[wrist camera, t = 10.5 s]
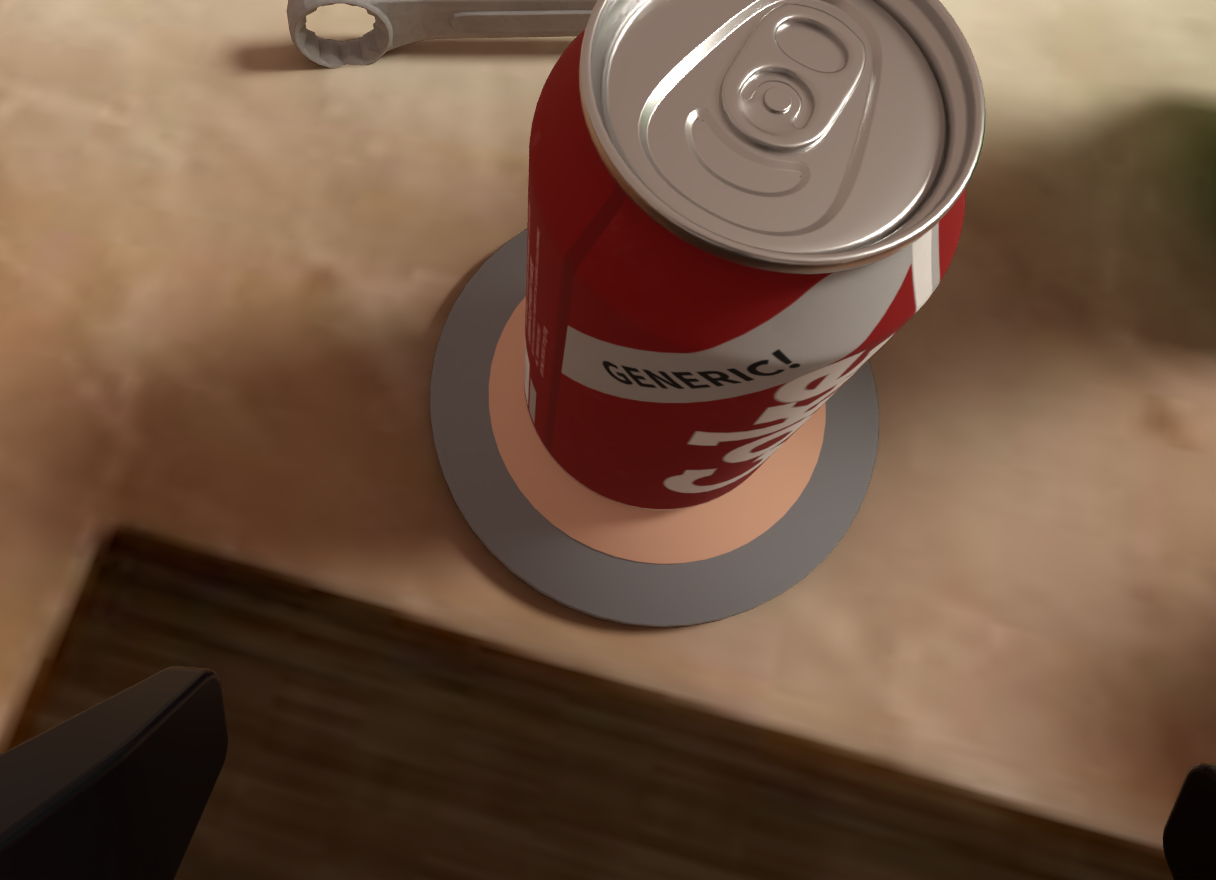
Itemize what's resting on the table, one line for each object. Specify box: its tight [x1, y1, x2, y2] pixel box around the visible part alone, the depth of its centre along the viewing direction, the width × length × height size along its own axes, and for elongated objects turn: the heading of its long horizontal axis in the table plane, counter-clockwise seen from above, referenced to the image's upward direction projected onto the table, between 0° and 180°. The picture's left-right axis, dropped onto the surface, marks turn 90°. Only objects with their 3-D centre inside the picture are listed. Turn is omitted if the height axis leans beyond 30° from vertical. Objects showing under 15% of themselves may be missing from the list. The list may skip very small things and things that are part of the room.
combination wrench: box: [287, 0, 597, 68], centre depth 25 cm, size 4×1×20 cm
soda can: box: [524, 0, 986, 511], centre depth 17 cm, size 7×7×12 cm
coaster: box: [430, 229, 879, 627], centre depth 23 cm, size 12×12×1 cm
